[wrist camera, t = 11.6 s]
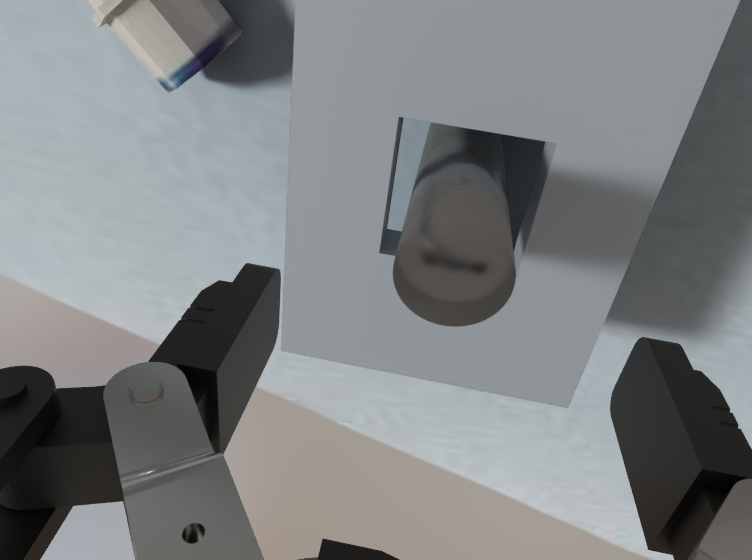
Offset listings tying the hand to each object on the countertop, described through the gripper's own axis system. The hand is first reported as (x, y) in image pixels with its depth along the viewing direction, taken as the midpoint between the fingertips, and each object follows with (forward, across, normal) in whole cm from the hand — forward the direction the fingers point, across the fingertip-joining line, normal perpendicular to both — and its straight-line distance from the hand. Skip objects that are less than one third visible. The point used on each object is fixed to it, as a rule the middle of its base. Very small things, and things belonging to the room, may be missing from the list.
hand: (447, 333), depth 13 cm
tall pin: (+14, 0, 0) cm, 15 cm away
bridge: (+14, 0, 0) cm, 15 cm away
